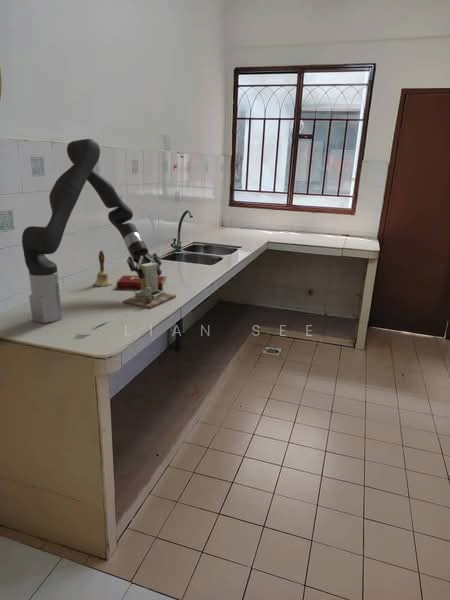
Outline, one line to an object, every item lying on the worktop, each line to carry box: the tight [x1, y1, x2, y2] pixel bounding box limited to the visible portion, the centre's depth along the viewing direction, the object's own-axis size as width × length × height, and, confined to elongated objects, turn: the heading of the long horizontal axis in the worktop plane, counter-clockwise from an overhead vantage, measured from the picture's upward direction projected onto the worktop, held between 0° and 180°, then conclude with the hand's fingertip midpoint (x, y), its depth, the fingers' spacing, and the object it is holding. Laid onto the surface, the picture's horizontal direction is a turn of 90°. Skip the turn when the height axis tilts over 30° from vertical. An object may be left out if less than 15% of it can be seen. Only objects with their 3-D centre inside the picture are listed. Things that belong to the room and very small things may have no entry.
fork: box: [76, 317, 116, 336], centre depth 148 cm, size 3×24×2 cm, turn 162°
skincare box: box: [140, 261, 158, 293], centre depth 179 cm, size 6×4×12 cm
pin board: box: [122, 287, 177, 309], centre depth 177 cm, size 18×14×7 cm
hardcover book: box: [116, 274, 168, 291], centre depth 198 cm, size 12×21×4 cm, turn 89°
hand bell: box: [93, 250, 113, 287], centre depth 198 cm, size 8×8×16 cm
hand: (151, 276), depth 178 cm, fingers open, 8 cm apart
